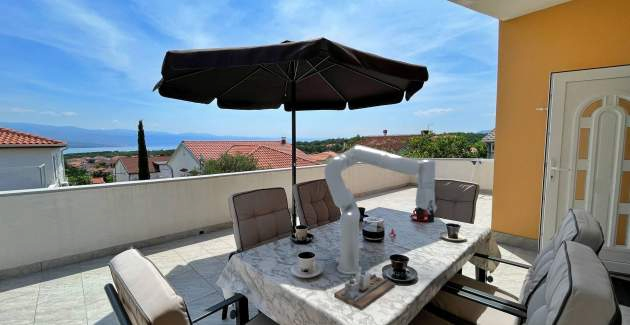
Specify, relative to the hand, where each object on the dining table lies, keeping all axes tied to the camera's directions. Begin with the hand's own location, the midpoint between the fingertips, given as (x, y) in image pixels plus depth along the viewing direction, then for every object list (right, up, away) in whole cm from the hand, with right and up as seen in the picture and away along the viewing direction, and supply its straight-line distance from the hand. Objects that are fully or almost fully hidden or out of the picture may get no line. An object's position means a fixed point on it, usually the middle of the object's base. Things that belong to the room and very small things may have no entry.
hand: (424, 219), depth 135 cm
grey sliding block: (-33, -27, -15) cm, 45 cm away
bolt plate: (-31, -29, -13) cm, 45 cm away
